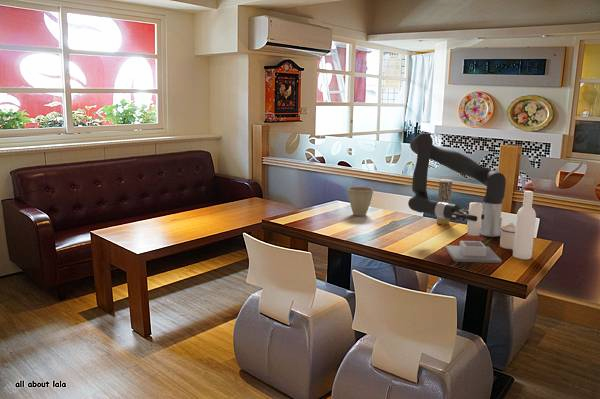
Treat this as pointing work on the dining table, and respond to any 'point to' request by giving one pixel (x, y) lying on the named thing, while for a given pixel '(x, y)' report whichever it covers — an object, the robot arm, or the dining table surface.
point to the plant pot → (360, 199)
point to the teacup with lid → (507, 236)
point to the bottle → (524, 228)
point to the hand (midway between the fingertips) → (480, 218)
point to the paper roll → (474, 226)
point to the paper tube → (444, 197)
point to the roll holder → (472, 252)
